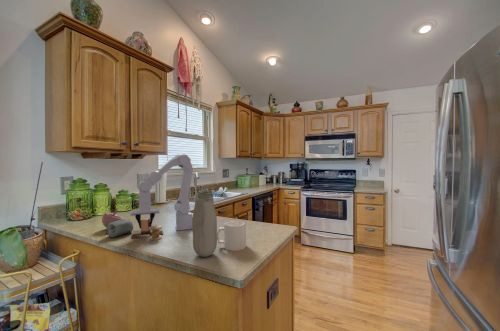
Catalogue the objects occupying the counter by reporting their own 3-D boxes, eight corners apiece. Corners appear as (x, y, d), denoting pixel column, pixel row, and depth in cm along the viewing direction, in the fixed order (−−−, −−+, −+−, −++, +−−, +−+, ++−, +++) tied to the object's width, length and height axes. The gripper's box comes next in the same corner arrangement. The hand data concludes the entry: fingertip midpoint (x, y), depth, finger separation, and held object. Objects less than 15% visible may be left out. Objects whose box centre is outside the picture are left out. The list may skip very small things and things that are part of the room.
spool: (111, 234, 121) (111, 215, 125) (102, 240, 125) (103, 221, 130) (137, 234, 131) (136, 216, 136) (128, 239, 136) (128, 222, 140)
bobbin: (161, 235, 128) (161, 224, 127) (162, 239, 122) (161, 227, 122) (149, 237, 125) (149, 226, 125) (149, 240, 120) (149, 229, 120)
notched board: (162, 231, 137) (161, 227, 136) (162, 234, 130) (162, 230, 130) (133, 234, 131) (133, 230, 131) (132, 238, 124) (132, 234, 124)
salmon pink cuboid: (150, 229, 131) (149, 218, 131) (147, 231, 128) (147, 220, 127) (143, 229, 131) (143, 218, 131) (141, 231, 127) (140, 220, 127)
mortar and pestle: (126, 229, 141) (125, 210, 141) (102, 233, 134) (102, 213, 134) (123, 225, 151) (123, 207, 151) (101, 228, 144) (101, 209, 144)
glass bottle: (217, 259, 96) (216, 190, 96) (192, 261, 95) (190, 191, 94) (217, 250, 106) (216, 187, 106) (193, 251, 105) (192, 188, 104)
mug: (216, 251, 104) (216, 227, 104) (217, 243, 115) (217, 221, 114) (247, 250, 106) (246, 226, 106) (245, 242, 116) (245, 220, 116)
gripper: (159, 200, 135) (159, 224, 136) (130, 202, 130) (131, 227, 130) (159, 202, 129) (159, 227, 129) (129, 204, 123) (130, 230, 124)
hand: (145, 227), depth 129 cm, fingers closed on salmon pink cuboid, 4 cm apart
